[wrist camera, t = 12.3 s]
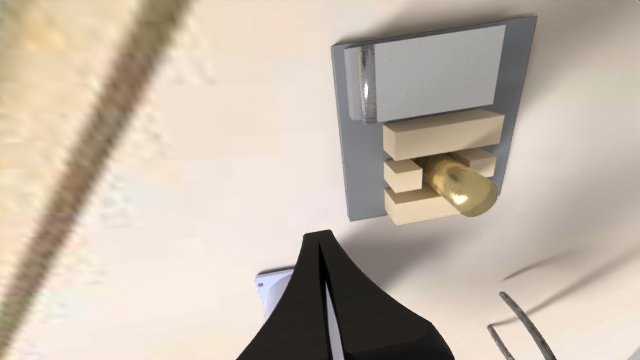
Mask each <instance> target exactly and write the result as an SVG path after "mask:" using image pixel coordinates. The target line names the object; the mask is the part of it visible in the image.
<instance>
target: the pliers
mask: <svg viewBox="0 0 640 360" xmlns="http://www.w3.org/2000/svg"><path fill="white" fill-rule="evenodd" d="M499 295H500V296H501V298H502V299H503V300H504V301H505V302H506V303H507V304H508V305H509V306H510V307H511V309H512V310H513V311H514V312H515V313H516V315H517V316H518V317H519V319H520V320H521V321H522V323H523V324H524V325H525V327H526V328H527V330H528V331H529V333H530V334H531V335H532V337H533V339H534V340H535V342H536V344H537V345H538V347H539V349H540V350H541V352H542V354H543V356H544V358H545V359H546V360H557V359H556V358H555V356H554V354H553V353H552V351H551V349H550V347H549V346H548V344H547V343H546V341H545V340H544V338H543V337H542V335H541V334H540V332H539V331H538V330H537V328H536V327H535V326H534V324H533V323H532V322H531V320H530V319H529V318H528V317H527V315H526V314H525V313H524V312H523V311H522V309H521V308H520V307H519V306H518V305H517V304H516V303H515V302H514V301H513V300H512V299H511V297H509V296H508V295H507V294H506V293H505V292H500V293H499ZM487 329H488V331H489V332H490V334H491V336H492V338H493V339H494V341H495V343H496V344H497V346H498V347H499V349H500V350H501V352H502V353H503V355H504V356H505V358H506V359H507V360H515V359H514V358H513V357H512V355H511V354H510V353H509V351H508V350H507V348H506V347H505V345H504V344H503V342H502V341H501V339H500V338H499V336H498V334H497V333H496V331H495V330H494V328H493V327H492V326H488V328H487Z"/></svg>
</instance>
